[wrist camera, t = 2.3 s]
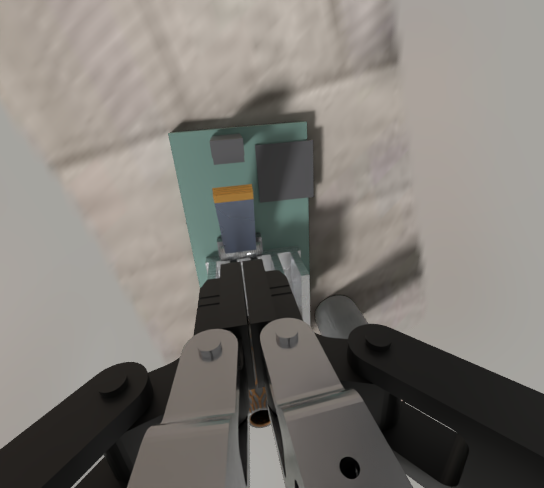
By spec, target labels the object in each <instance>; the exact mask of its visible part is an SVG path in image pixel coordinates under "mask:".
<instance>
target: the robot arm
mask: <svg viewBox="0 0 544 488" xmlns="http://www.w3.org/2000/svg"><path fill="white" fill-rule="evenodd" d="M242 263H243V271H244V280H245V288H246V296H247V305H248V313H249V321H250V329H251V337H252V344H253V352H254V360H255V367H256V375H257V383H258V388H262V387H265V390H266V396H267V404H268V412H269V418H270V422H271V426H272V431H273V435H274V439H275V444H276V448H277V452H278V456H279V461H280V465H281V470H282V474H283V478H284V483H285V487H286V488H413V486H412V485H411V483H410V481H409V480H408V478H407V476H406V474H407V475H408V476H409V477H411V478H412V479H413V480H415V481H416V482H417V483H419V484H420V485H421V486H423V487H424V488H544V394H543V393H540V392H538V391H536V390H533V389H531V388H529V387H526V386H524V385H521V384H519V383H517V382H515V381H512V380H510V379H508V378H505V377H503V376H501V375H498V374H496V373H494V372H491V371H489V370H487V369H485V368H482V367H480V366H478V365H475V364H473V363H471V362H468V361H466V360H464V359H461V358H459V357H457V356H454V355H452V354H450V353H447V352H445V351H443V350H440V349H438V348H436V347H433V346H431V345H429V344H426V343H424V342H422V341H420V340H417V339H415V338H412V337H410V336H408V335H405V334H403V333H401V332H399V331H396V330H394V329H392V328H389V327H387V326H383V325H378V324H365V325H361V326H358V327H356V328H355V329H353V330H352V331H351V332H350V334H349V336H348V339H342V338H331V337H325V336H322V335H319V334H317V333H315V332H314V331H313V329H312V328H311V327H310V326H309V325H308V324H307V323H306V322H304V321H303V319H302V316H301V313H300V311H299V308H298V306H297V303H296V300H295V298H294V295H293V293H292V290H291V287H290V284H289V282H288V279H287V277H286V276H285V275H284V274H283V273H281V272H280V271H279V270H273V271H266V272H265V269H264V265H263V261H262V259H255V260H248V261H242ZM252 389H256V385H255V376H254V367H253V359H252V350H251V341H250V332H249V324H248V315H247V307H246V299H245V291H244V284H243V276H242V269H241V262H233V263H226V264H221V265H220V278H215V279H208V280H207V281H206V282H205V283H204V284H203V286H202V287H201V288H200V293H199V300H198V308H197V315H196V322H195V329H194V336H193V337H192V338H191V339H190V340H188V342H187V343H186V344H185V345H184V347H183V350H182V353H181V356H180V358H178V359H177V360H175V361H174V362H172V363H170V364H168V365H166V366H163V367H161V368H158V369H157V370H154V371H151V372H149V373H148V372H147V370H146V368H145V367H144V366H143V365H141V364H139V363H135V362H126V363H120V364H116V365H114V366H111V367H109V368H107V369H105V370H103V371H102V372H100V373H99V374H97V375H96V376H95V377H93V378H92V379H91V380H89V381H88V382H87V383H86V384H84V385H83V386H82V387H80V388H79V389H78V390H77V391H75V392H74V393H73V394H71V395H70V396H69V397H67V398H66V399H65V400H64V401H62V402H61V403H60V404H59V405H57V406H56V407H54V408H53V409H52V410H51V411H49V412H48V413H47V414H45V415H44V416H43V417H42V418H40V419H39V420H38V421H36V422H35V423H34V424H33V425H31V426H30V427H29V428H27V429H26V430H25V431H24V432H22V433H21V434H20V435H18V436H17V437H16V438H14V439H13V440H12V441H11V442H9V443H8V444H7V445H6V446H4V447H3V448H2V449H0V488H71V487H72V486H73V485H74V484H75V483H76V481H78V480H79V479H80V478H81V477H82V476H83V474H85V473H86V472H87V470H88V469H90V468H91V466H92V465H93V464H94V463H95V462H96V461H97V460H98V459H99V458H100V457H101V456H102V455H104V456H105V457H104V458H103V459H102V460H101V461H100V462H99V463H98V464H97V465H96V466H95V467H94V468H93V469H92V470H91V471H90V472H89V473H88V475H86V476H85V478H84V479H82V480H81V482H80V483H79V484H78V485H77V486H76V487H75V488H250V428H249V427H250V418H249V408H250V399H249V390H252ZM402 400H403V401H404V402H406V403H408V404H410V405H411V406H413V407H415V408H417V409H419V410H420V411H422V412H423V413H425V414H427V415H429V416H430V417H432V418H434V419H435V420H438V421H439V422H441V423H442V424H444V425H446V426H448V427H450V428H451V429H453V430H454V431H456V432H457V433H456V432H454V431H453V430H451V429H449V428H448V427H445V426H444V425H442V424H441V423H439V422H437V421H435V420H434V419H432V418H430V417H428V416H427V415H425V414H423V413H422V412H420V411H418V410H416V409H415V408H413V407H411V406H409V405H408V404H406V403H404V402H403V401H402Z"/></svg>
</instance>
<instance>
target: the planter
mask: <svg viewBox="0 0 544 488" xmlns="http://www.w3.org/2000/svg"><path fill="white" fill-rule="evenodd" d="M315 320H316V323H317V326H318V328H319V331H320V333H321V335H322V336H325V337H331V338H342V339H348V336H349V334H350V332H351V331H352V330H353V329H355V328H356V327H358V326H361V325H365V324H368V322H367V321H366V319H365V318H364V316H363V315H362V313H361V312H360V310H359V309H358V307H357V306H356V304H355V303H354V302H353V301H352V300H351V299H350V298H348V297H346V296H342V295H337V296H332V297H329V298H327V299H325V300H324V301H323V302H322V303H321V304H320V305H319V306H318V307H317V309H316V312H315ZM402 401H403V400H402ZM403 402H404V401H403ZM404 403H405V402H404Z"/></svg>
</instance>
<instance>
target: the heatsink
mask: <svg viewBox="0 0 544 488" xmlns="http://www.w3.org/2000/svg"><path fill="white" fill-rule="evenodd" d="M255 236H256V242H260V243H261V250H262V257H254V258H246V259H238V260H231V261H223V262H221V258H220V249H219V247H220V246H223V241H222V237H217V246H218V252H219V256H212V257H206V261H205V264H206V269H207V275H208V277H207V280H208V279H215V278H220V265H221V264H226V263H233V262H241V269H242V276H243V284H244V291H245V299H246V307H247V315H248V316H249V313H248V305H247V296H246V288H245V280H244V271H243V263H242V261H248V260H255V259H262V261H263V265H264V269H265V272H266V271H273V270H279V271H280V272H281V273H283V274H284V275H285V276H286V277H287V279H288V282H289V284H290V287H291V290H292V293H293V295H294V298H295V300H296V303H297V306H298V308H299V311H300V313H301V316H302V319H303V321H304V322H306V323H307V324H308V325H309V326H310V280H309V273H308V271H307V269H306V267H305V265H304V263H303V261H302V259H301V250H300V248H299V247H298V246H291V247H283V248H275V249H267V250H263V247H262V237H261V233H260V232H257V233H255Z"/></svg>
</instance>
